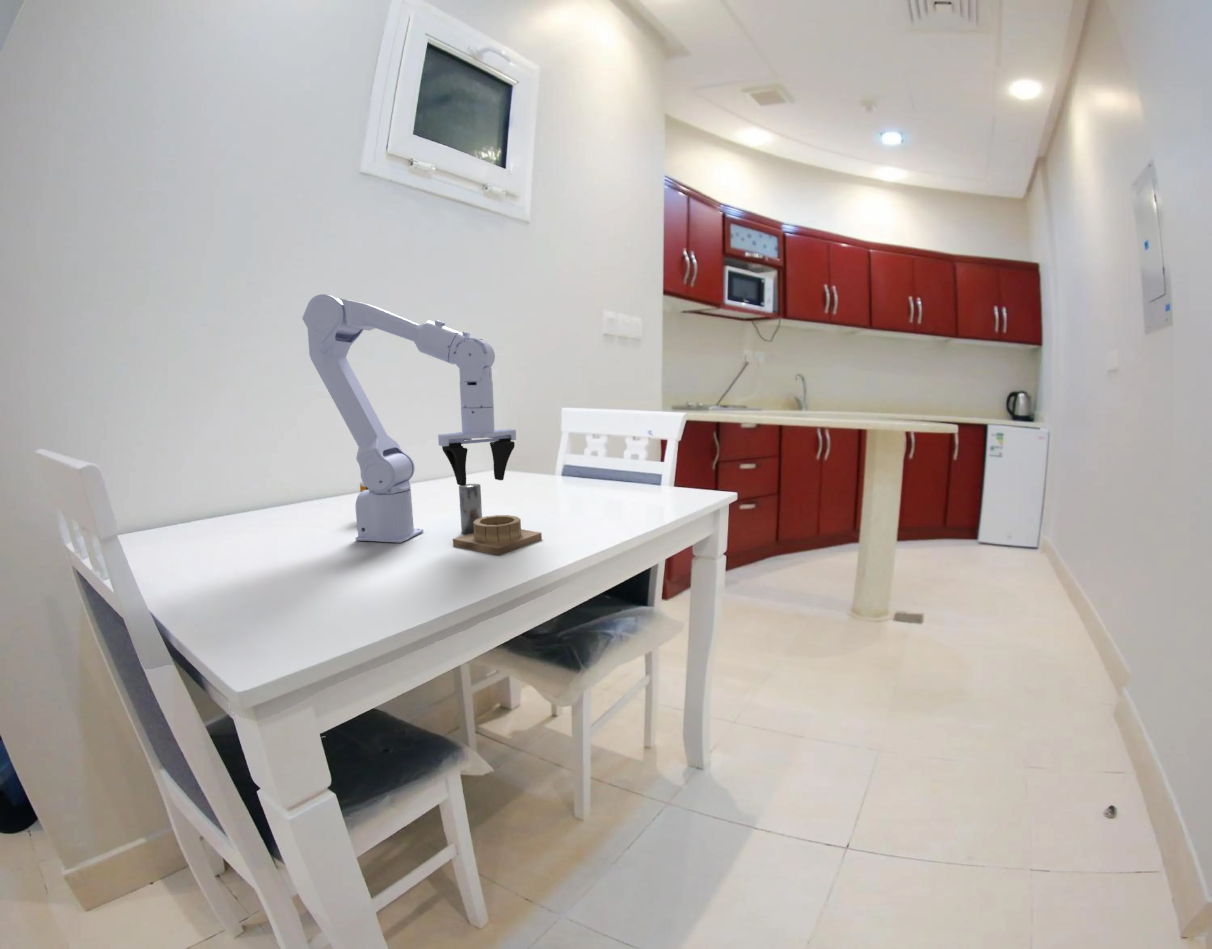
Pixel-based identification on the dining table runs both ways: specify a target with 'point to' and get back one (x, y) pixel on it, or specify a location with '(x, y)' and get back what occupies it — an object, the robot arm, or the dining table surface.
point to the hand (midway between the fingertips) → (480, 482)
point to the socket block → (497, 535)
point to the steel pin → (470, 506)
